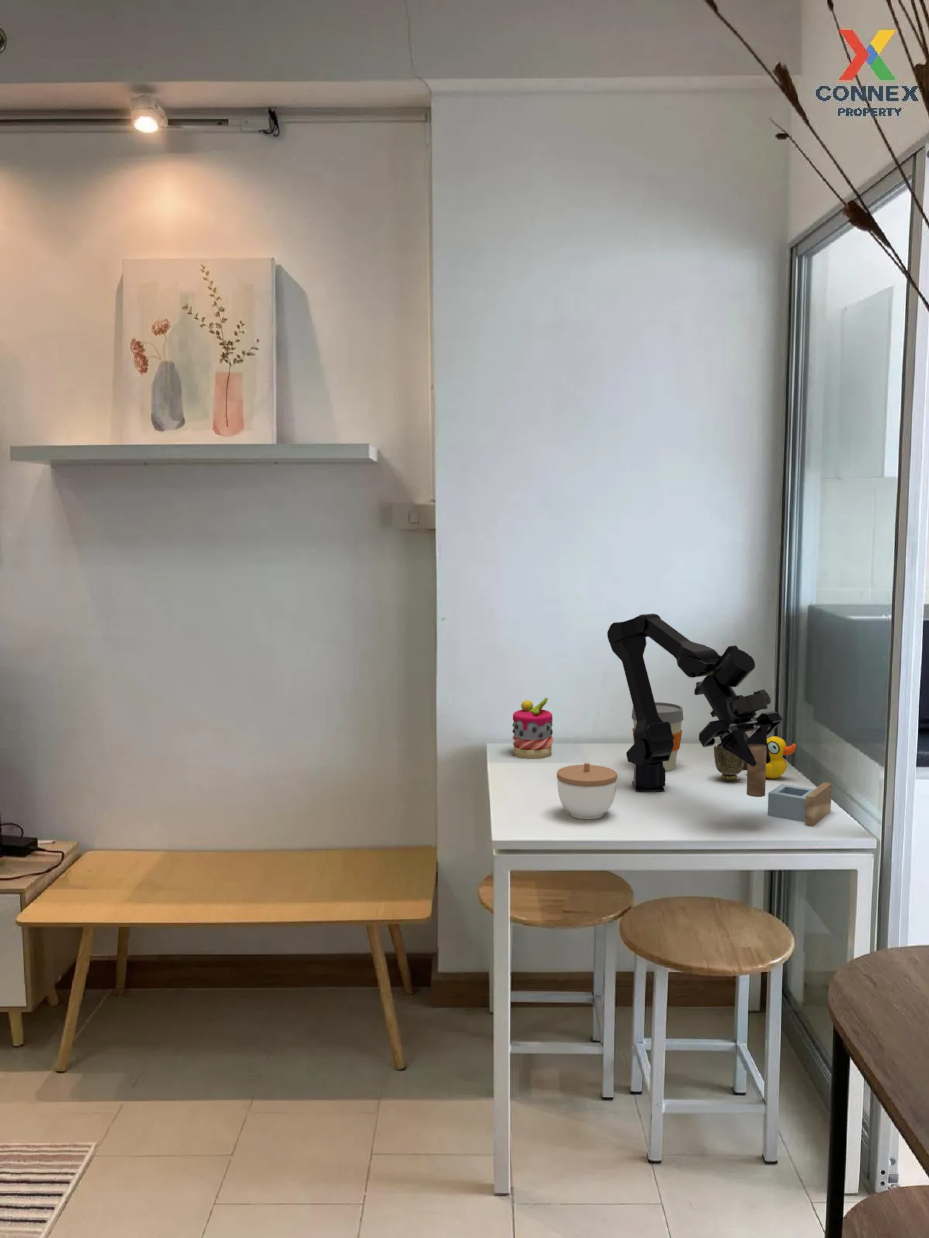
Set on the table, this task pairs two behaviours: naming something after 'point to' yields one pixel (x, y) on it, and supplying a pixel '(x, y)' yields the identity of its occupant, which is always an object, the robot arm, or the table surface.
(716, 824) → the table surface
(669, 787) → the table surface
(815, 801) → the backstop board
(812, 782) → the table surface
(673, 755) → the reusable coffee cup
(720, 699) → the robot arm
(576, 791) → the lidded bowl
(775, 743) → the duckling
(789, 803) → the socket block
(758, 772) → the dowel
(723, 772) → the cup
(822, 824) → the table surface
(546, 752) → the cake
